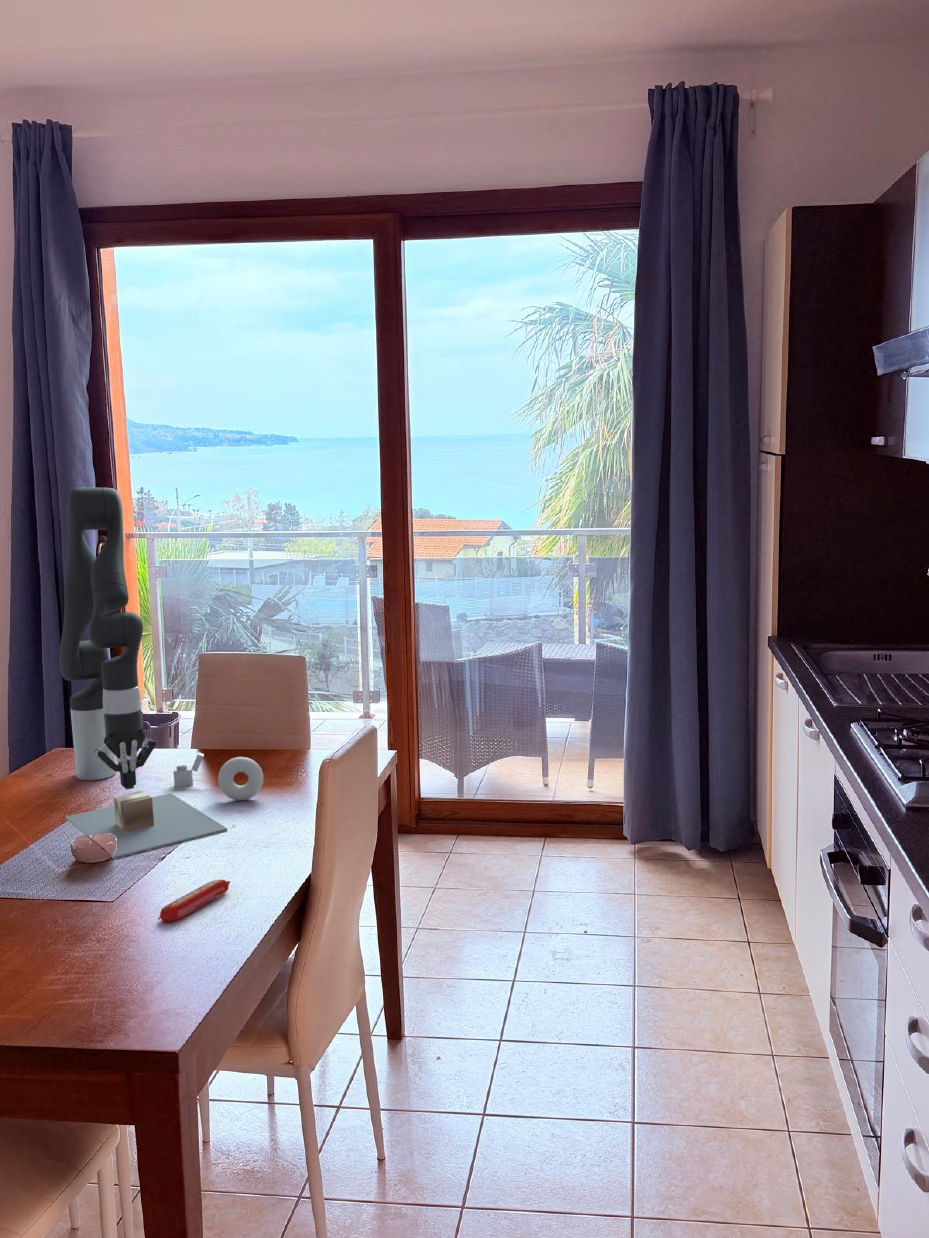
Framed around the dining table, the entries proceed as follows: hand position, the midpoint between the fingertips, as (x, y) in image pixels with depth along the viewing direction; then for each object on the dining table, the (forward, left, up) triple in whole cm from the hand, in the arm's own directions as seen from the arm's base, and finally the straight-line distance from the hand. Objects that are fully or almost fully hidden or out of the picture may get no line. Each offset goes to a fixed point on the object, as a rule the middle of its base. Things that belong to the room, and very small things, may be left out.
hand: (128, 788), depth 232 cm
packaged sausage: (+48, -6, -8) cm, 49 cm away
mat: (+2, +2, -8) cm, 8 cm away
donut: (+1, +25, -8) cm, 26 cm away
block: (-1, 0, -4) cm, 5 cm away
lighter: (-16, +20, -8) cm, 27 cm away
